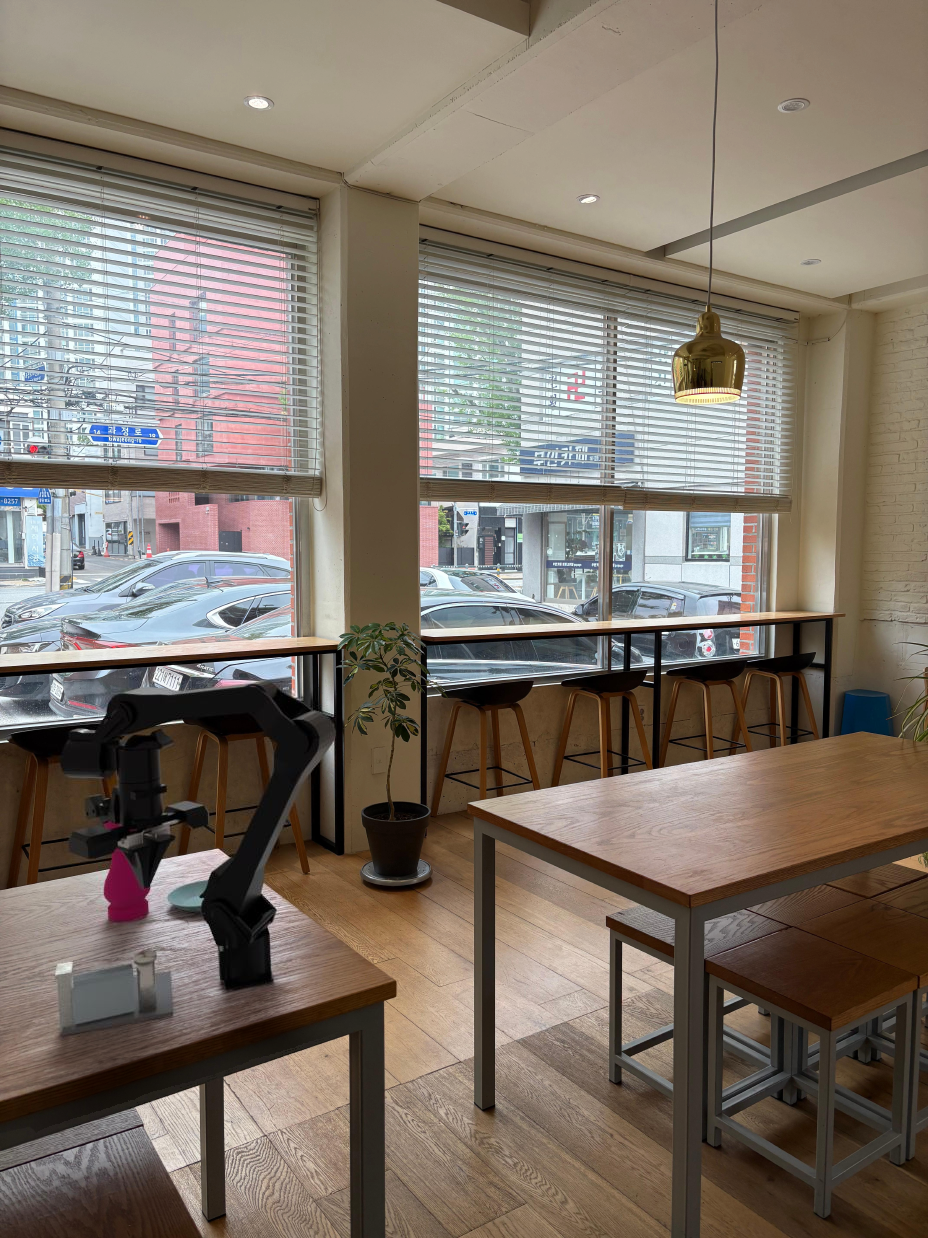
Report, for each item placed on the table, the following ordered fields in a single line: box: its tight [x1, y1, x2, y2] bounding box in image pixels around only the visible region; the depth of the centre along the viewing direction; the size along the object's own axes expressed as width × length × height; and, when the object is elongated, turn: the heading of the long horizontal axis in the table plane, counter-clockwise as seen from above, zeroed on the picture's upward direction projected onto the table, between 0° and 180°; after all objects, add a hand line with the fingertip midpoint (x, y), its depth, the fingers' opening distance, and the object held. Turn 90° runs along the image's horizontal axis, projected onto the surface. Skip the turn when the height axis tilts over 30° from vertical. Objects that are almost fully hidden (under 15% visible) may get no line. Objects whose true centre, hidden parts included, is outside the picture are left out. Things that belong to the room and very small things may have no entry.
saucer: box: [166, 879, 208, 913], centre depth 151 cm, size 12×12×2 cm
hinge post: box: [133, 949, 158, 1013], centre depth 115 cm, size 3×3×8 cm
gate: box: [72, 963, 135, 1024], centre depth 112 cm, size 7×2×6 cm, turn 116°
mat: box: [61, 970, 174, 1037], centre depth 117 cm, size 13×12×1 cm
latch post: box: [54, 961, 74, 1035], centre depth 111 cm, size 2×3×8 cm, turn 20°
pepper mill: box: [103, 821, 151, 923], centre depth 146 cm, size 7×7×20 cm
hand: (145, 888), depth 126 cm, fingers closed
